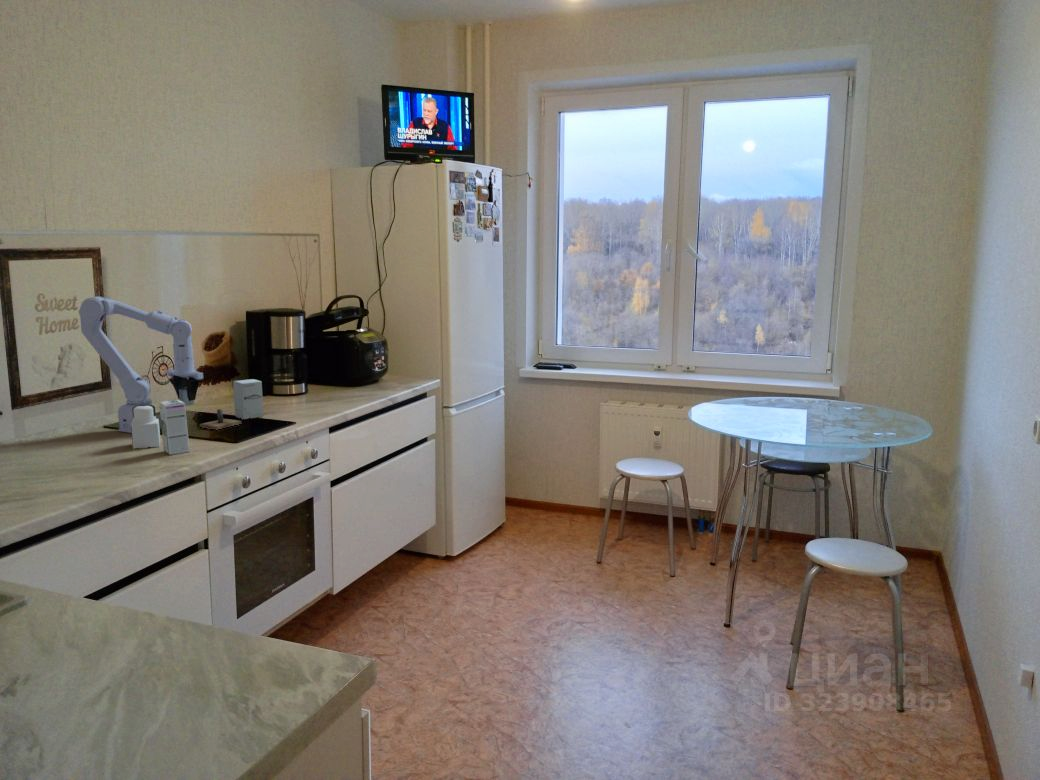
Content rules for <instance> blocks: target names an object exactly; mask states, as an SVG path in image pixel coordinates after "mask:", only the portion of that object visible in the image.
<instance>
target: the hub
mask: <svg viewBox="0 0 1040 780" xmlns="http://www.w3.org/2000/svg"><path fill="white" fill-rule="evenodd" d="M179 398H180V399H179V400H180V401H182V402H184V403H185V407H186V406H187V407H188V406H193V405H195V400H192V401H189V400H188V396H187V390H186V388H183V389H179Z"/></svg>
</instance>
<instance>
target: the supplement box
mask: <svg viewBox="0 0 1040 780" xmlns="http://www.w3.org/2000/svg"><path fill="white" fill-rule="evenodd" d="M232 383H233V401H234V402H233V404H234V417H236V418H238V419H240V418H241V420H243V419H244V420H248V419H249V418H250V419H258V418H263V417H264V401H263V384H262V383H263V382H262V381H261V380H258V379H254V378H252V379H251V378H250V379H243V380H242V379H241V380H234V381H233V380H232ZM257 417H258V418H257Z"/></svg>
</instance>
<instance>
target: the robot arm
mask: <svg viewBox="0 0 1040 780" xmlns="http://www.w3.org/2000/svg"><path fill="white" fill-rule="evenodd" d="M78 314H79V316H80V317H79V318H80V329H81V333H82V335H83V336H84V338H85V339H86V340H87V341H88V342H89V344H90V345H91V347H92V348H93V349H94V350H95V351H96V352H97V354H98V356H99V357H100V358H101V359H102V360H103V362H104V363H105V364H106V365H107V366H108V368H109V370H110V371H111V372H112V373H113V374H114V375H115V376H116V378H117V379H118V381H119V385H120V387H121V388H122V390H123V391H124V397H125V399H126V401H125V402H126V403H125V404H123V405H120V406H119V408H118V410H117V415H118V425H119V428H118V432H123V433H128V434H131V424H132V421H133V413H132V408H133V407H135V406H137V405H144V404H150V405H153V404H152V399H151V398H150V396H149V395H150V394H151V392H152V391H151V390H152V387H151V384H150V383H149V382H148V381H147V380H145V379H143V378H142V377H141V376H140V375H139V374H138V372H136V371H135V370H133V369H132V367H131V366H130V365H129V363H128V361H126V360H125V358H124V357H123V356H122V355H121V353H120V352H119V350H118V349H117V348H116V346H115V345H114V344H113V343H112V341H111V340H110V339H109V338H108V336H107V335H106V334H105V332H104V331H103V329H102V327H103V323H104V319H105V317H106V316H110V315H119V316H120V315H121V316H124V317H126V318H130V319H133V320H137V321H141V322H143V323H144V324H145V325H146V327H147V328H148V329H151V330H153V331H156V332H160V333H163V334H166V335H171V336H172V339H173V344H172V346H173V347H172V348H173V349H172V350H173V363H174V369H167V370H166V374H167V375H166V376H167V377H171V378H169V382H170V383H171V385H172V386H173V388H174V391H175V393H176V396H177V398H178V399H177V400H180V398H179V389H183V388H186V390H187V396H188V400H189V401H192V400H194V401H195V400H196V397H197V392H198V389H199V385H200V384H201V382H202V380H203V379H204V372H200V371H198V369H195V362H194V361H195V360H194V349H193V342H192V341H193V338H192V336H191V334H192V332H193V329H192V328H193V326H192V324H191V323H190V322H189V321H187V320H186V319H184V318H183V319H179V317H177V316H171V315H168V314H165V313H164V311H163V310H161V309H159V310H152V311H150V312H148V311H145V310H142V309H139V308H137V307H135V306H132V305H129V304H127V303H124V302H122V301H119V300H116V299H111V298H106V297H104V296H100V295H95V296H92V297H88V298H85V299H84V300H83V301H82V302H81V305H80V308H79V310H78ZM160 427H161V426H160V425H159V429H160Z"/></svg>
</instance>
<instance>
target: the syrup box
mask: <svg viewBox="0 0 1040 780" xmlns="http://www.w3.org/2000/svg"><path fill="white" fill-rule="evenodd" d="M158 403H159V414H160V415H159V416H160V424H161V432H162V434H161V435H162V436H161V437H162V443H163V446H162V447H163V451H164V452H165V453H166V454H168V455H170V456H173V455H178V454H185V453H189V452H190V441H189V432H188V422H187V421H188V420H187V414H186V413H187V412H186V406H185V403H184V402H182V401H180V399H174V400H173V399H172V400H165V401H159V402H158Z"/></svg>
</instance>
